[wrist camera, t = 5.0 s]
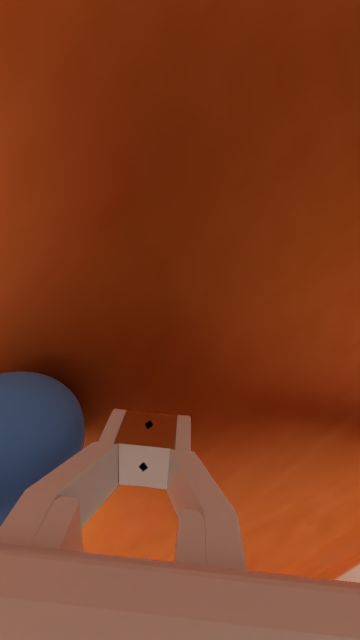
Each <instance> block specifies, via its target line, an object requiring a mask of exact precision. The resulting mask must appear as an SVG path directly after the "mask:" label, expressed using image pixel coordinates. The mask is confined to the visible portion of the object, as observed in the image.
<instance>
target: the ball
mask: <svg viewBox="0 0 360 640" xmlns="http://www.w3.org/2000/svg"><path fill="white" fill-rule="evenodd" d="M84 437H85V423H84V416H83V413H82V409H81V406H80V404H79V402H78V400H77V399H76V397H75V396H74V394H73V393H72V392H71V391H70V390H69V389H68V388H67V387H66V386H65V385H64V384H62V383H61V382H59V381H58V380H56V379H54V378H52V377H50V376H47V375H44V374H41V373H35V372H27V371H15V372H6V373H1V374H0V527H1V525H2V524H3V522H4V521H5V519H6V518H7V516H8V515H9V513H10V512H11V510H12V509H13V507H14V506H15V504H16V503H17V501H18V500H19V499H20V497H21V496H22V494H23V493H24V491H25V490H26V489H27V488H29V487H30V486H32V485H33V484H35V483H36V482H37V481H39V480H40V479H42V478H43V477H44V476H46V475H47V474H49V473H50V472H51V471H53V470H54V469H56V468H57V467H58V466H60V465H61V464H63V463H64V462H65V461H67V460H68V459H70V458H71V457H73V456H74V455H75V454H77V453H78V452H80V451H81V450H82V448H83V443H84Z"/></svg>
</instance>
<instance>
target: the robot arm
mask: <svg viewBox="0 0 360 640" xmlns="http://www.w3.org/2000/svg"><path fill="white" fill-rule="evenodd" d="M118 484H119V485H133V486H145V487H152V488H159V489H167V493H168V496H169V498H170V501H171V503H172V506H173V508H174V510H175V513H176V515H177V518H178V525H177V534H176V543H175V551H174V560H173V562H168V561H159V560H150V559H141V558H132V557H123V556H114V555H105V554H96V553H87V552H83V542H82V531H81V528H82V527H83V526H84V525H85V524H86V523H87V521H88V520H89V519H90V518H91V517H92V516H93V515H94V513H95V512H96V511H97V510H98V509H99V508H100V507H101V505H102V504H103V503H104V502H105V501H106V500H107V499H108V497H109V496H110V495H111V494H112V493H113V492H114V491H115V489H116V488H117V487H118ZM0 640H360V583H356V582H347V581H338V580H329V579H320V578H311V577H302V576H293V575H284V574H275V573H266V572H257V571H248V570H247V568H246V562H245V556H244V550H243V544H242V538H241V532H240V526H239V520H238V514H237V512H236V511H235V509H234V508H233V506H232V505H231V503H230V502H229V500H228V499H227V498H226V496H225V495H224V493H223V492H222V490H221V489H220V487H219V486H218V485H217V483H216V482H215V480H214V479H213V477H212V476H211V474H210V473H209V472H208V470H207V469H206V467H205V466H204V464H203V463H202V461H201V460H200V459H199V457H198V456H197V454H196V453H195V452H191V417H190V416H187V415H178V416H177V415H172V414H161V413H150V412H142V411H134V410H124V409H116V408H115V409H114V410H113V411H112V412H111V415H110V417H109V419H108V421H107V423H106V425H105V427H104V429H103V431H102V434H101V436H100V438H99V440H98V442H92V443H91V444H89V445H88V446H87V447H85V448H84V449H82V450H81V451H80V452H78V453H77V454H75V455H74V456H73V457H71V458H70V459H68V460H67V461H65V462H64V463H63V464H61V465H60V466H58V467H57V468H56V469H54V470H53V471H51V472H50V473H49V474H47V475H46V476H44V477H43V478H42V479H40V480H39V481H37V482H36V483H35V484H33V485H32V486H30V487H29V488H27V489H26V490H25V491H24V493H23V494H22V496H21V497H20V499H19V500H18V501H17V503H16V504H15V506H14V507H13V509H12V510H11V512H10V513H9V515H8V516H7V518H6V519H5V521H4V522H3V524H2V525H1V527H0Z"/></svg>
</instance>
